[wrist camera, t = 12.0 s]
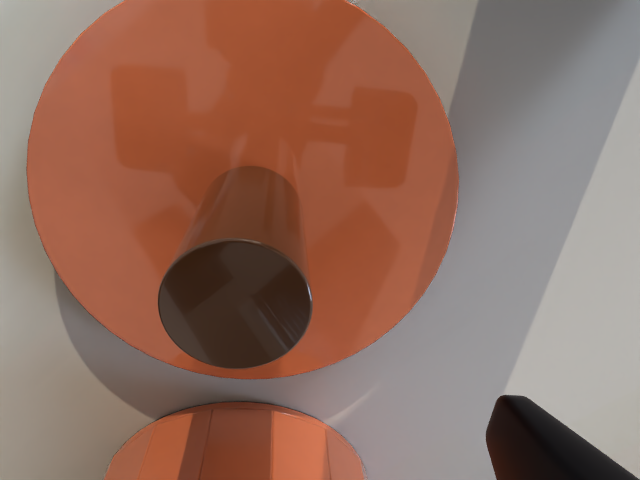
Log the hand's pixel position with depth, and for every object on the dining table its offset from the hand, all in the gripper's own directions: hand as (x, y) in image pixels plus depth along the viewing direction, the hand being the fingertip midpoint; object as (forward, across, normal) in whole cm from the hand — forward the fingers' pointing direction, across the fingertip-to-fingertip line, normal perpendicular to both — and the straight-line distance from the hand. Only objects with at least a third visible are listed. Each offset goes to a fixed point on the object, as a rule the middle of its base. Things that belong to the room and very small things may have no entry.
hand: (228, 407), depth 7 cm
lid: (+8, 0, 0) cm, 9 cm away
